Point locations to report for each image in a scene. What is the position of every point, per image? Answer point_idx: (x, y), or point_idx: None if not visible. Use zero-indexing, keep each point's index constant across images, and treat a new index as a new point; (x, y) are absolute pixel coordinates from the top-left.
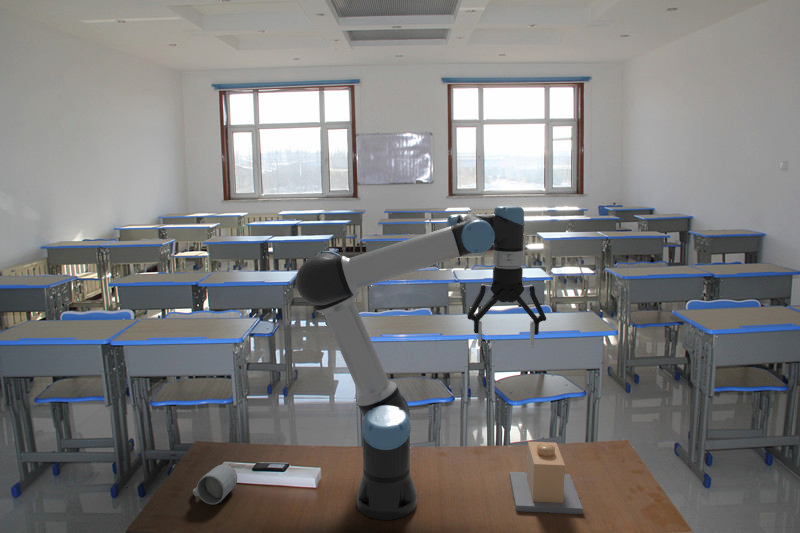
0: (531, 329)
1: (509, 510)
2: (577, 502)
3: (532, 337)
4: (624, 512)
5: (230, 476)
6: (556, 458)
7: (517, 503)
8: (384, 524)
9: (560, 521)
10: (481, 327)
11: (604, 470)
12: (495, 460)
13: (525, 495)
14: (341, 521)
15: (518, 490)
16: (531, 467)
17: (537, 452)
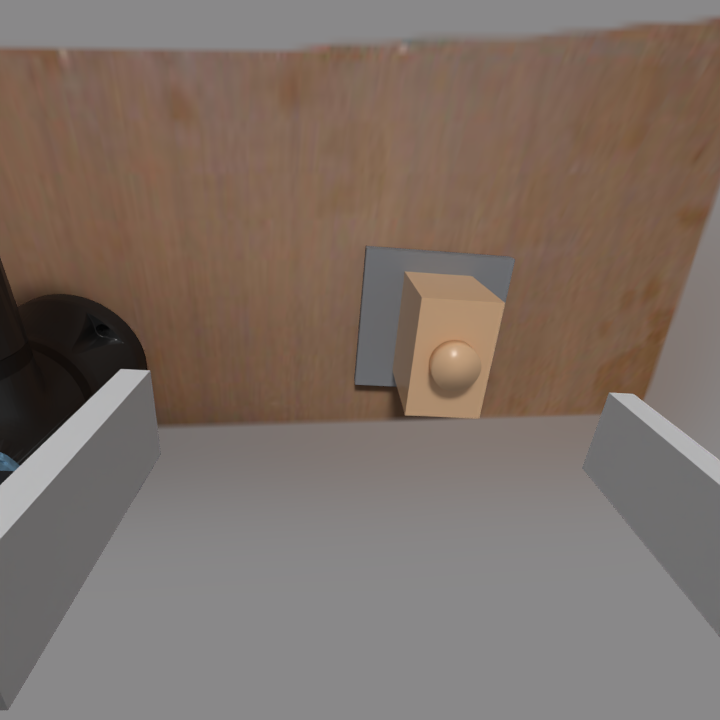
0: (705, 605)
1: (341, 376)
2: None
3: (649, 536)
4: (563, 377)
5: None
6: (470, 388)
7: (359, 377)
8: None
9: None
10: (55, 627)
11: (617, 211)
12: (342, 153)
13: (382, 350)
14: None
15: (371, 331)
16: (405, 364)
17: (429, 367)
